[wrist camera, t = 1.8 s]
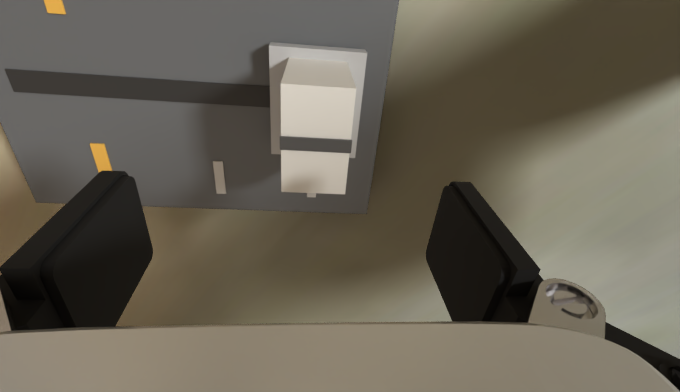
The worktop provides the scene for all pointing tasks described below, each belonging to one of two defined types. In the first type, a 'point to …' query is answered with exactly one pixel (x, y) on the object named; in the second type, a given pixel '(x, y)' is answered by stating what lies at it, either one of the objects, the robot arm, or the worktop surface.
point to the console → (176, 96)
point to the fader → (315, 114)
